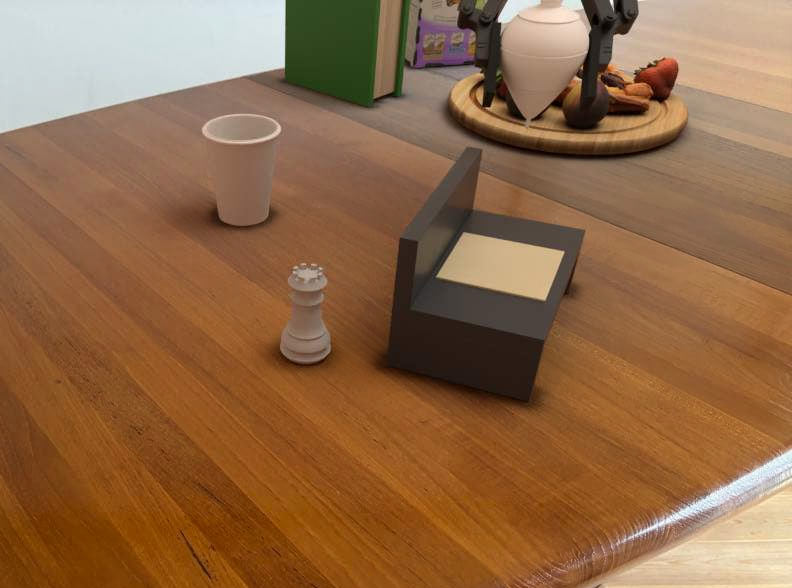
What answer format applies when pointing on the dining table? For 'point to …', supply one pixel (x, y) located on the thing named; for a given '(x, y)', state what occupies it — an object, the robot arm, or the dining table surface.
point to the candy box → (438, 34)
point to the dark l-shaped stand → (477, 289)
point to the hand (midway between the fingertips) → (537, 102)
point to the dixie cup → (242, 165)
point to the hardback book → (347, 47)
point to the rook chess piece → (306, 318)
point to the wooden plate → (581, 113)
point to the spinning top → (541, 54)
